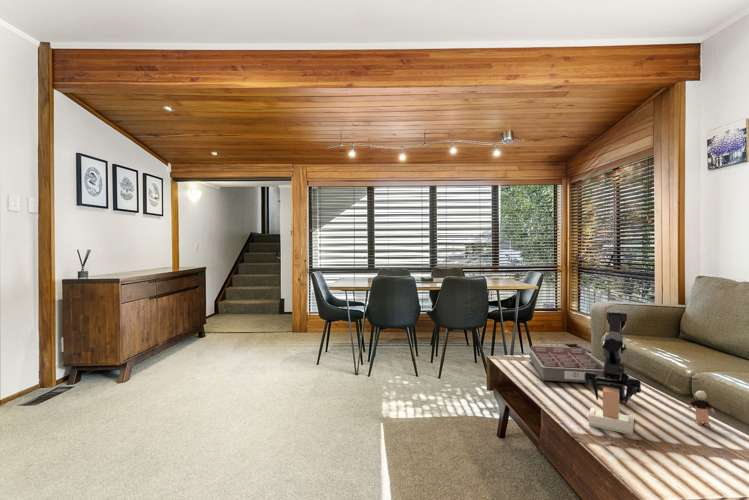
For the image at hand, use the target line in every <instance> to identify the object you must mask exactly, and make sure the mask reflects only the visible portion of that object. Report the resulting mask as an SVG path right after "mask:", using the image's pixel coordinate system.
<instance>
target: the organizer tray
mask: <svg viewBox="0 0 749 500" xmlns="http://www.w3.org/2000/svg"><path fill="white" fill-rule="evenodd" d="M528 351H529V360H530V362H531V364H532V365H533V367H534V368H535V370H536V371H537V373H538V374H539V376H540V377H541V379H542V381H552V382H554V381H555V382H568V383H569V382H570V383H585V384H586V382H585V373H586V372H592V373H596V376H597V377H602V378H604V376H603V369H604V363H602V361H600V360H599V359H597V358H596V357H594V356H593V354H591V353H589V352H588V351H587V350H586V348H585V347H564V346H547V345H546V346H545V345H542V346H541V345H531V346H530V347H529V348H528ZM597 384H600V385H601V384H604V385H607V384H606V383H602V382H597Z"/></svg>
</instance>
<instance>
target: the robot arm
mask: <svg viewBox="0 0 749 500" xmlns="http://www.w3.org/2000/svg"><path fill="white" fill-rule="evenodd" d="M628 316H629V315H628V313H625V311H617V310H615V311H614V310H609V312H608V311H607V312H605V321H607V323H608V326H609V330H608V333H607V334H606V335H605V339H604V340H603V341H602V345H601V346H602V350H603V352H604V357H605V358H604V363H603V365H604V369H603V376H604V378H602V377H597V376H596V373H592V372H586V373H585V382H586V383H585V384H586V385H588V386H589V387H591V388H592V390H593V393H594V396H595V399H596V401H598V400H599V391H598V390H599V389H598V383H597V382H602V383H606V384H605V385H607V387H610V388H616V389H619V401H624V406H627V404H628V403H629V401H630V399H631V398H632V396H634V395H637V393H639V394H641V391H642V388H641V387H642V384H641V383H642V382H641V380H640V379H637V378H631V377H630V376H629V375H628V372H626V368H625V367H626V366H625V364H624V363H623V362H622V358H623V357H622V354H623V352H625V351H626V350H627V345H626V343H625V342H624V340H623V339H624V338H623V335H622V334H623V331H624V330H625V328H626V326H627V323H628V319H629V317H628ZM625 387H626V391H625Z"/></svg>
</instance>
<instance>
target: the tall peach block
mask: <svg viewBox="0 0 749 500" xmlns="http://www.w3.org/2000/svg"><path fill="white" fill-rule="evenodd" d="M602 411H603V417H608V418H613V419H618V420H619V414H620V400H619V389H616V388H610V387H608V386H603V389H602Z"/></svg>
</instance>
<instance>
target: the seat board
mask: <svg viewBox="0 0 749 500" xmlns="http://www.w3.org/2000/svg"><path fill="white" fill-rule="evenodd" d="M634 422H635V417H634V415H633V414H628V415H627V414H622V413H619V420H618V419H613V418H608V417H603V409H602V410H601V409H596V407H590V409H589V412H588V426H590V427H594V428H600V429H604V430H608V431H612V432H613V431H614V432H616V433H617V432H618V433H623V434H626V435H631V436H633V434H634Z"/></svg>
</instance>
